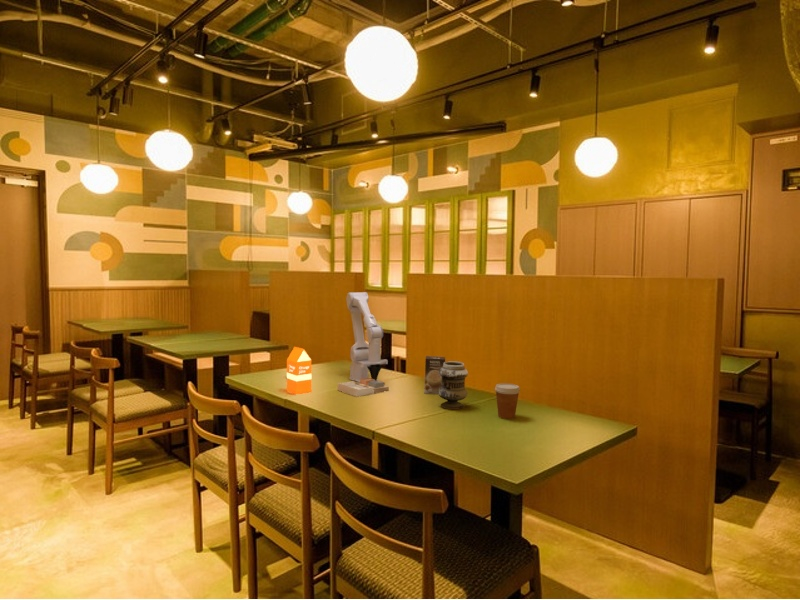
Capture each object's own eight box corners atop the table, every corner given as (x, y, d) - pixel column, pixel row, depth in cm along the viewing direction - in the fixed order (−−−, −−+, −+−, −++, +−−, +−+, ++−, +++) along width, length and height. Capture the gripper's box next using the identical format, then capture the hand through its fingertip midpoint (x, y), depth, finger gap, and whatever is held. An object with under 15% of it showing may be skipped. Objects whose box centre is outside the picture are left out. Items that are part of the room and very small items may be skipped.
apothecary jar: (455, 412, 203) (456, 367, 202) (431, 406, 211) (432, 362, 210) (473, 406, 212) (474, 363, 211) (449, 400, 220) (450, 359, 219)
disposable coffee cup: (489, 414, 200) (490, 384, 200) (509, 412, 204) (510, 382, 203) (503, 421, 192) (504, 389, 191) (524, 418, 196) (525, 387, 195)
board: (355, 387, 242) (355, 382, 242) (369, 384, 247) (369, 380, 247) (374, 393, 230) (374, 389, 230) (388, 390, 235) (388, 386, 235)
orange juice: (296, 394, 226) (296, 349, 225) (286, 391, 233) (286, 347, 231) (311, 392, 231) (311, 348, 230) (301, 388, 238) (301, 345, 236)
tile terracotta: (359, 383, 241) (360, 378, 241) (368, 381, 245) (368, 377, 244) (366, 385, 238) (366, 380, 237) (374, 383, 241) (374, 379, 241)
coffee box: (423, 393, 231) (424, 358, 230) (424, 390, 238) (425, 355, 237) (444, 394, 230) (445, 359, 229) (444, 391, 237) (445, 356, 236)
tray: (337, 390, 235) (337, 382, 235) (354, 387, 241) (355, 379, 241) (356, 397, 224) (356, 389, 224) (374, 393, 230) (374, 386, 230)
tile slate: (368, 385, 236) (368, 381, 236) (377, 384, 239) (377, 380, 239) (375, 388, 232) (375, 383, 232) (384, 386, 235) (384, 382, 235)
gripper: (367, 354, 235) (367, 384, 236) (391, 351, 244) (391, 379, 245) (358, 352, 240) (358, 381, 241) (382, 349, 250) (382, 377, 251)
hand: (374, 380), depth 244 cm, fingers closed
